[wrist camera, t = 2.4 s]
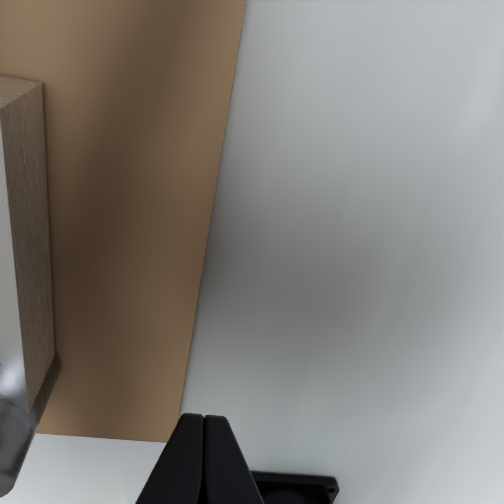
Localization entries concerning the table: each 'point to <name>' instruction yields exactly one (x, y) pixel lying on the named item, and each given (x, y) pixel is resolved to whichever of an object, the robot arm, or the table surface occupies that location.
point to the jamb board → (125, 193)
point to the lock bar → (23, 276)
